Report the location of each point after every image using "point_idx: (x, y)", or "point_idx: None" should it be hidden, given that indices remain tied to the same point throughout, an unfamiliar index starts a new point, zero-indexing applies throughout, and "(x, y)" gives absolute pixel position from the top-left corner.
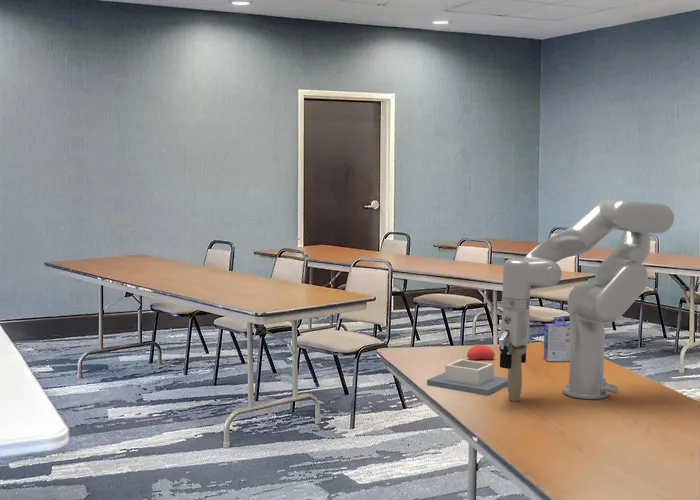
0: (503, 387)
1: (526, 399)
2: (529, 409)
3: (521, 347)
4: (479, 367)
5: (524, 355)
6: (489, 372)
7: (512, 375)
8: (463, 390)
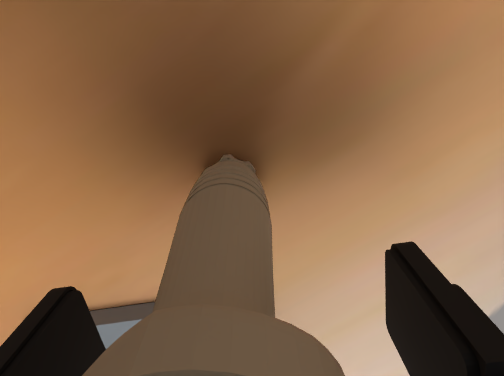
0: (103, 309)
1: (176, 144)
2: (324, 29)
3: None
4: None
5: (34, 344)
6: None
7: (271, 237)
8: None
